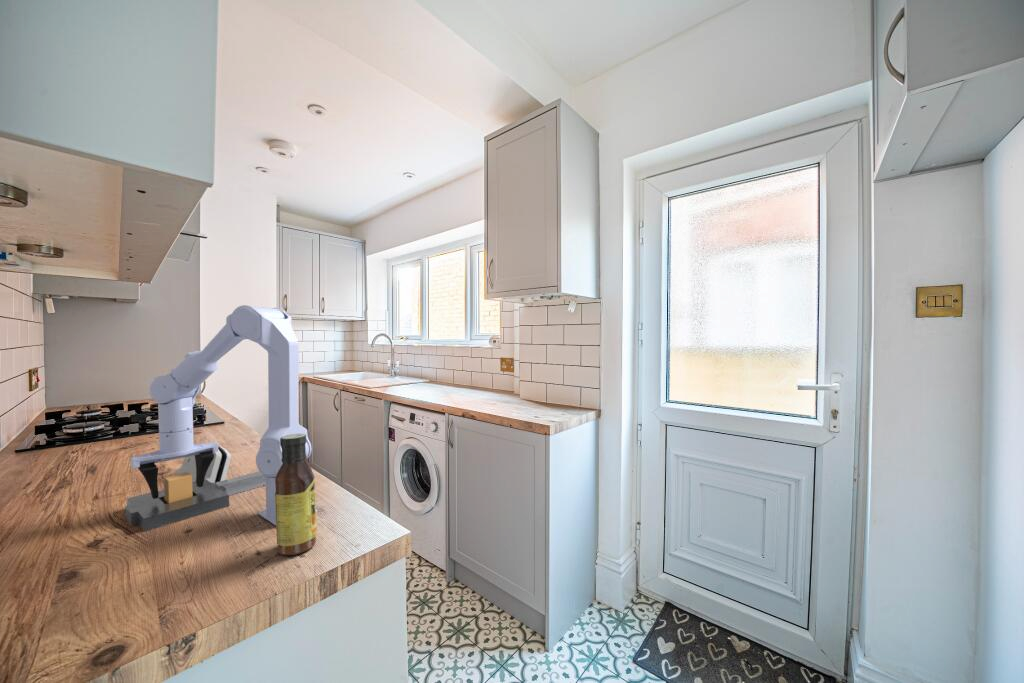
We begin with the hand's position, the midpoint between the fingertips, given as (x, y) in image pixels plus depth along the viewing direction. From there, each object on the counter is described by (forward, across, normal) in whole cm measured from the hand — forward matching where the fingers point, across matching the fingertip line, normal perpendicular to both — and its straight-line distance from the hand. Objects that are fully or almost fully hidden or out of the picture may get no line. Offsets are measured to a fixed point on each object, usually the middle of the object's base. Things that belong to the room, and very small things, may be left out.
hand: (178, 491), depth 87 cm
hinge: (+4, -9, -18) cm, 20 cm away
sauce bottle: (+4, -8, +38) cm, 39 cm away
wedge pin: (+4, 0, 0) cm, 4 cm away
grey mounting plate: (+4, -6, 0) cm, 7 cm away
